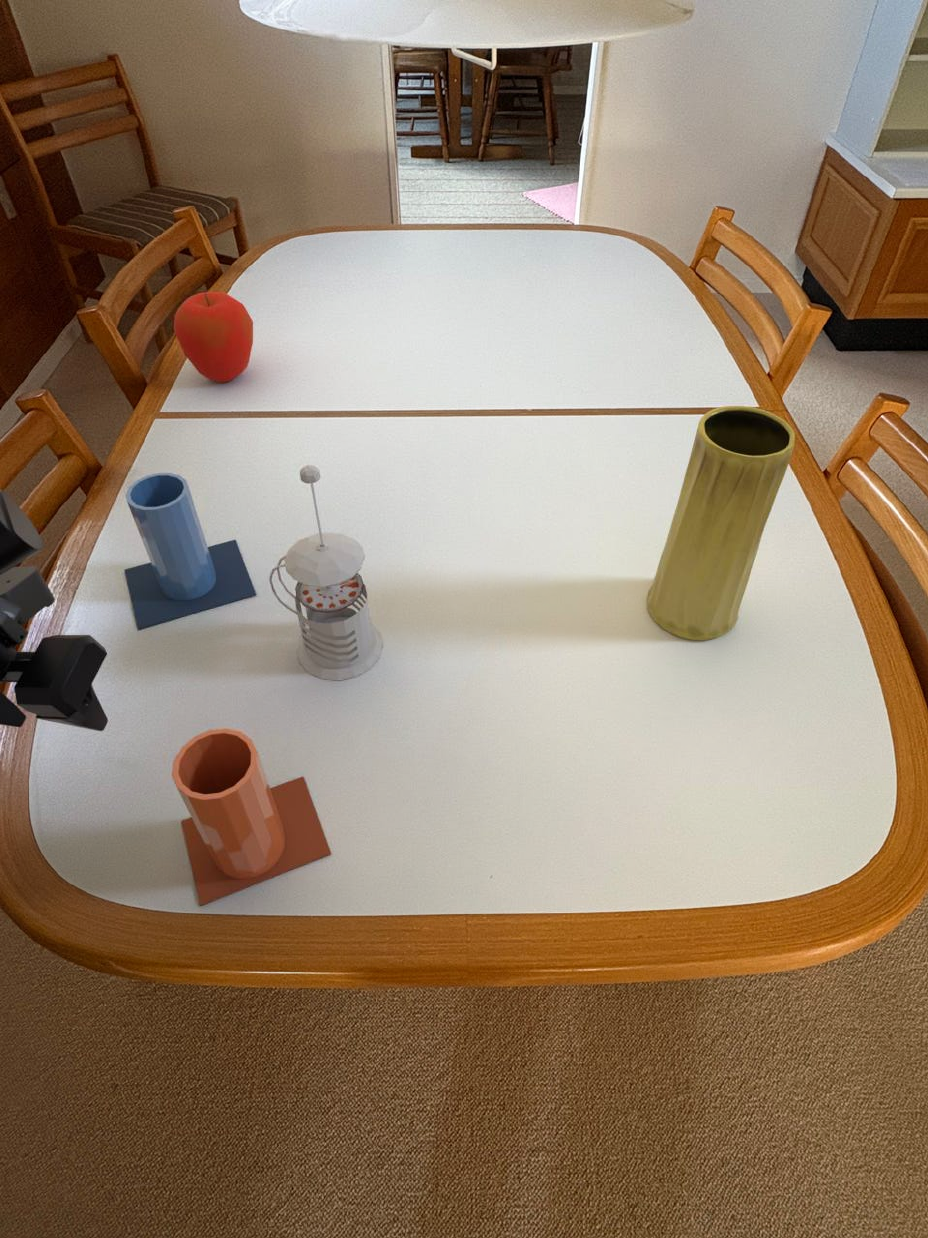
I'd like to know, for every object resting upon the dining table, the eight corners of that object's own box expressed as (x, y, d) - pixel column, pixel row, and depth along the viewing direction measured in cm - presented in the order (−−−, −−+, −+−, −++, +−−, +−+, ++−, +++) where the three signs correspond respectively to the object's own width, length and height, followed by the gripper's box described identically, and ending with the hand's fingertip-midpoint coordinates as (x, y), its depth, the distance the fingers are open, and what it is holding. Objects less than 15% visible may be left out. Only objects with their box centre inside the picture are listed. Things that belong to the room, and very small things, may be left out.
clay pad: (200, 906, 69) (200, 905, 69) (181, 821, 75) (181, 820, 75) (331, 854, 73) (331, 853, 72) (303, 777, 78) (303, 776, 78)
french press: (362, 690, 86) (335, 510, 67) (266, 664, 88) (215, 484, 70) (395, 627, 92) (379, 447, 74) (306, 604, 94) (268, 425, 76)
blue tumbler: (166, 607, 94) (130, 516, 84) (157, 572, 98) (121, 481, 88) (221, 591, 96) (193, 500, 85) (210, 557, 100) (181, 466, 89)
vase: (755, 614, 93) (827, 436, 75) (695, 656, 89) (755, 477, 71) (687, 565, 99) (738, 388, 81) (627, 602, 95) (667, 424, 76)
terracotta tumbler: (200, 869, 71) (156, 788, 61) (232, 806, 76) (196, 721, 65) (267, 887, 70) (234, 807, 60) (296, 822, 75) (270, 737, 64)
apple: (270, 387, 128) (253, 302, 118) (195, 402, 125) (172, 316, 115) (253, 351, 136) (236, 269, 125) (183, 365, 133) (160, 282, 122)
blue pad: (138, 630, 92) (137, 628, 91) (124, 570, 98) (124, 569, 98) (256, 595, 95) (256, 594, 95) (235, 540, 102) (235, 539, 102)
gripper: (69, 529, 58) (186, 647, 70) (-108, 540, 64) (27, 646, 76) (-9, 656, 51) (133, 761, 63) (-197, 655, 58) (-35, 751, 70)
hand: (62, 724), depth 68 cm, fingers open, 9 cm apart
